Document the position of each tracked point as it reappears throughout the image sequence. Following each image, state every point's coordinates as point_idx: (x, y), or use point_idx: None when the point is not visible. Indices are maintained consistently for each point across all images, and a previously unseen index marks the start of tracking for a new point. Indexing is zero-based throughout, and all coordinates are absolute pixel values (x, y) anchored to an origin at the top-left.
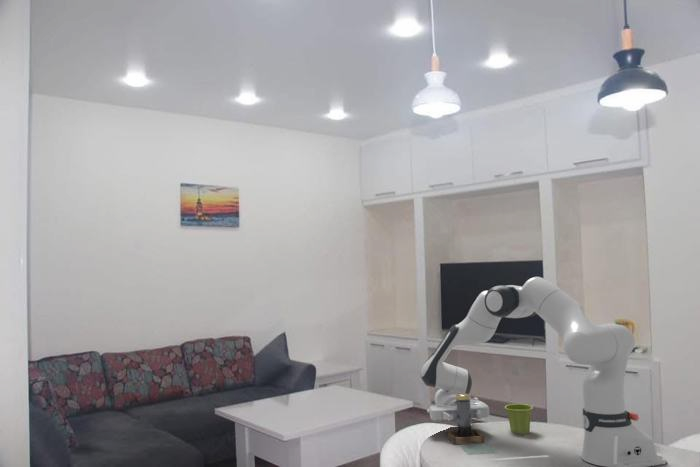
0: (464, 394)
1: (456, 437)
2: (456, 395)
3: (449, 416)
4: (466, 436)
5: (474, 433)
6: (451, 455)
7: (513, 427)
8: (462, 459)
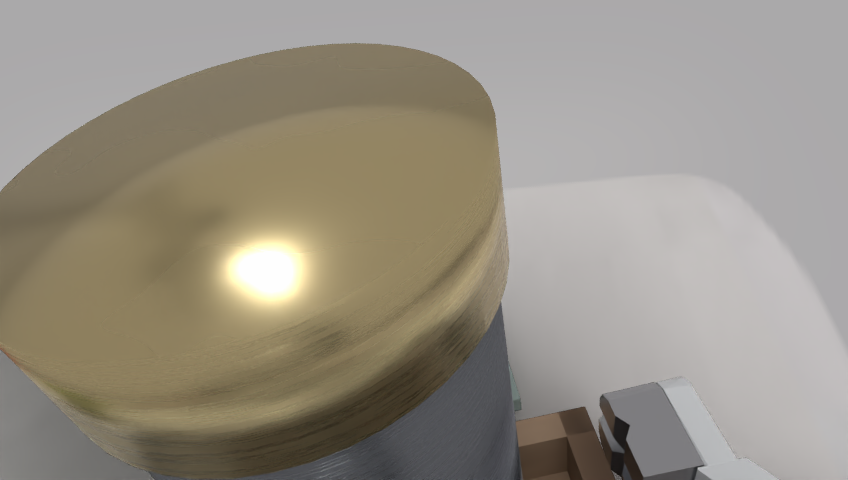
0: (168, 186)
1: (553, 434)
2: (474, 82)
3: (666, 380)
4: None
5: None
6: (583, 256)
7: None
8: (508, 210)
